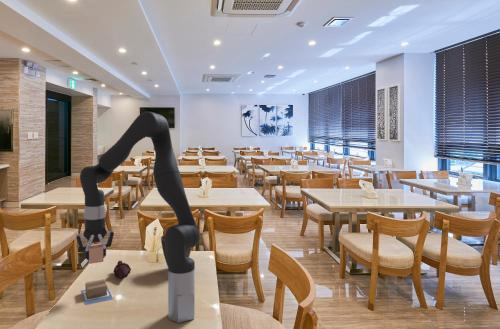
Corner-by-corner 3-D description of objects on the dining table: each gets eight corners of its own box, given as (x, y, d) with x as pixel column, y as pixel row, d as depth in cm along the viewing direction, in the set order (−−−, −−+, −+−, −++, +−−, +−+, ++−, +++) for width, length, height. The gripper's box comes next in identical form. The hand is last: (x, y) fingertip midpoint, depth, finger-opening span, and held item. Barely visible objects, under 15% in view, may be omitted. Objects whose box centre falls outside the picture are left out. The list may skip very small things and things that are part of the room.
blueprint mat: (113, 300, 139) (113, 298, 139) (84, 306, 134) (84, 304, 134) (107, 286, 151) (106, 285, 151) (80, 291, 146) (80, 290, 146)
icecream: (136, 267, 156) (128, 259, 169) (118, 265, 153) (112, 258, 166) (132, 283, 156) (124, 274, 168) (114, 282, 152) (108, 273, 165)
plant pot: (158, 266, 174) (158, 234, 173) (188, 262, 181) (188, 231, 179) (164, 277, 161) (164, 243, 160) (196, 272, 167) (196, 239, 166)
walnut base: (107, 295, 142) (106, 285, 142) (87, 299, 139) (87, 289, 138) (104, 288, 148) (103, 279, 148) (85, 292, 145) (85, 282, 144)
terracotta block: (103, 261, 142) (103, 246, 141) (89, 263, 139) (89, 248, 139) (101, 257, 146) (101, 243, 145) (88, 259, 143) (87, 245, 143)
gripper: (75, 220, 134) (76, 264, 136) (115, 216, 141) (116, 258, 143) (73, 216, 140) (74, 258, 142) (112, 212, 148) (113, 253, 149)
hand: (95, 258), depth 142 cm, fingers closed on terracotta block, 5 cm apart
